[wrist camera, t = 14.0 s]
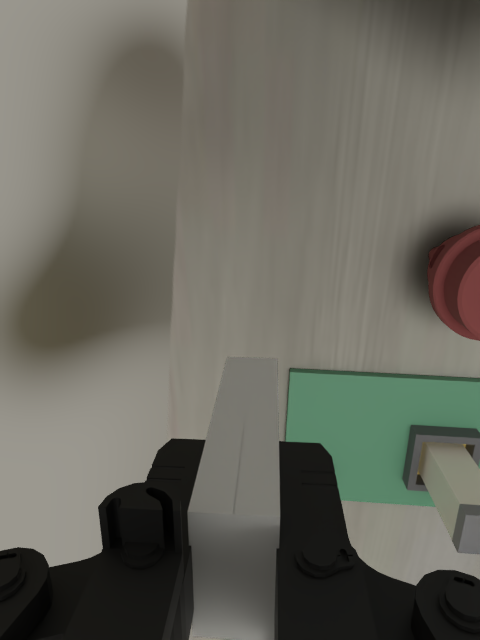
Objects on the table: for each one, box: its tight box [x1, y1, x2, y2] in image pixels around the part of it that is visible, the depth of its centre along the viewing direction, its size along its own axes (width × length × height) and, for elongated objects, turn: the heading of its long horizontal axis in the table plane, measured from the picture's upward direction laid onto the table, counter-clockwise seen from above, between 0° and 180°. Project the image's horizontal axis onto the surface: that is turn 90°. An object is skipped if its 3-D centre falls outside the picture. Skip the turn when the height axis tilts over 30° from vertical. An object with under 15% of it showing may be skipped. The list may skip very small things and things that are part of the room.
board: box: [285, 368, 480, 507], centre depth 51 cm, size 16×24×3 cm, turn 88°
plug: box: [418, 442, 480, 554], centre depth 45 cm, size 4×4×12 cm
